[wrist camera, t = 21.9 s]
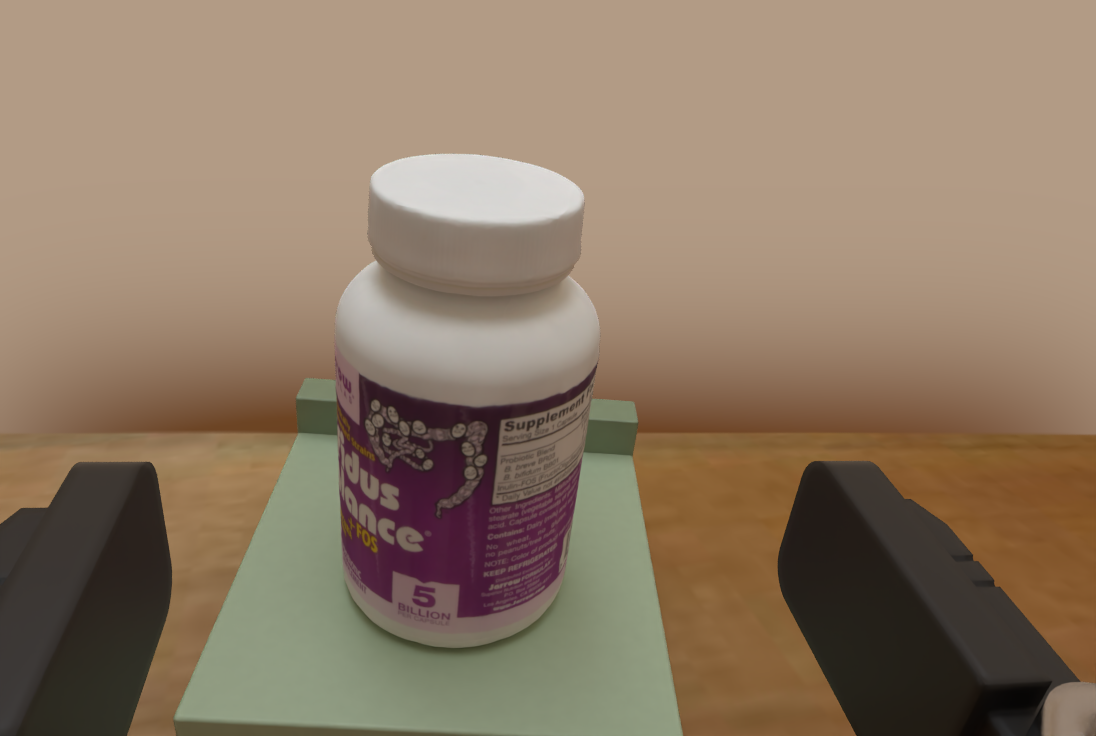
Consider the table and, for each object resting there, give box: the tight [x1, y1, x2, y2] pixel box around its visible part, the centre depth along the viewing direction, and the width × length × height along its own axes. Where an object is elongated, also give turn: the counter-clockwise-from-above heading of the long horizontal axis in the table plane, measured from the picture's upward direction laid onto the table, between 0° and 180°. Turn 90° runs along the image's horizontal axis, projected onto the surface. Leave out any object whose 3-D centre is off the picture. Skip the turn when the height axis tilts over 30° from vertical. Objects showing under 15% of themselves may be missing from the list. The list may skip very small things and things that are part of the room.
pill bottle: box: [335, 154, 600, 648], centre depth 18 cm, size 5×5×10 cm
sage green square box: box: [173, 378, 683, 736], centre depth 22 cm, size 10×11×5 cm
